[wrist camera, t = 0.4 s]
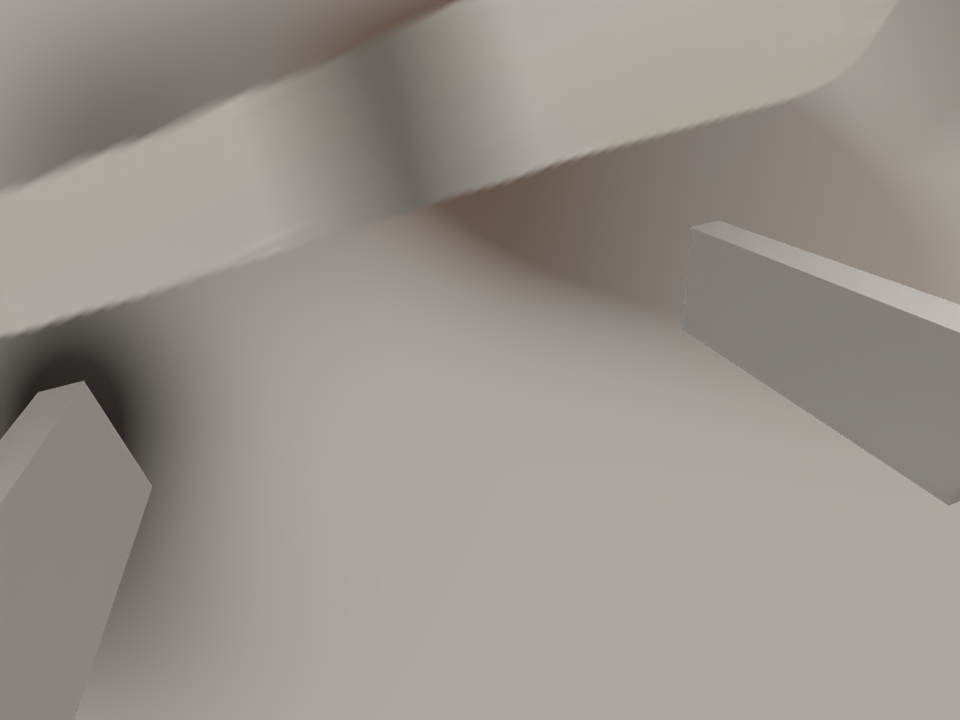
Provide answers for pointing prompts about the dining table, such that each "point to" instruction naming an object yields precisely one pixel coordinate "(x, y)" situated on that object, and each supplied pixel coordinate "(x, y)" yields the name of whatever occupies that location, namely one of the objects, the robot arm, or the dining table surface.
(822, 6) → the dining table surface
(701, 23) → the dining table surface
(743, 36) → the dining table surface
